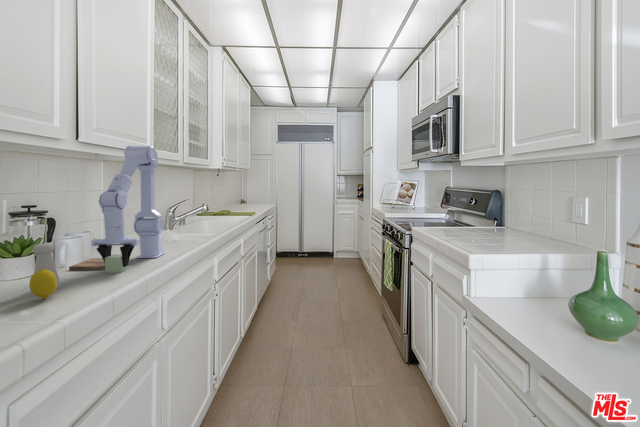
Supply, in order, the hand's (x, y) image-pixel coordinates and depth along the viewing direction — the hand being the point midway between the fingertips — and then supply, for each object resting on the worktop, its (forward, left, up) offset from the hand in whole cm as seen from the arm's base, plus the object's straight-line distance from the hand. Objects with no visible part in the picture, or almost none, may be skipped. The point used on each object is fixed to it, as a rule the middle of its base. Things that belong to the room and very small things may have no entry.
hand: (117, 266), depth 115 cm
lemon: (+28, -4, -2) cm, 28 cm away
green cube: (0, 0, -1) cm, 1 cm away
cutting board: (-8, -11, -1) cm, 14 cm away
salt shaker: (+20, -9, -2) cm, 22 cm away
